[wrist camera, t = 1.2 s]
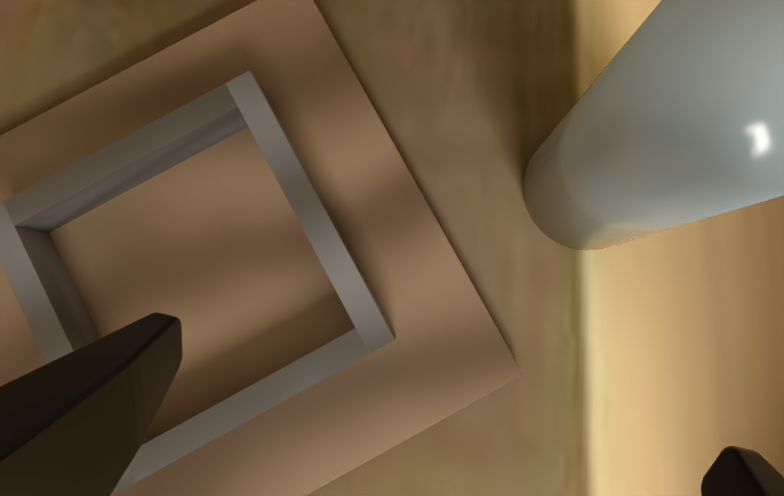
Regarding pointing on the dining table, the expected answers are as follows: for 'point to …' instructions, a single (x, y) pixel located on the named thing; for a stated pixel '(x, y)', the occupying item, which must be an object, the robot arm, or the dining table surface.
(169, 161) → the collar board
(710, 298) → the dining table surface
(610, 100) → the ceramic canister
